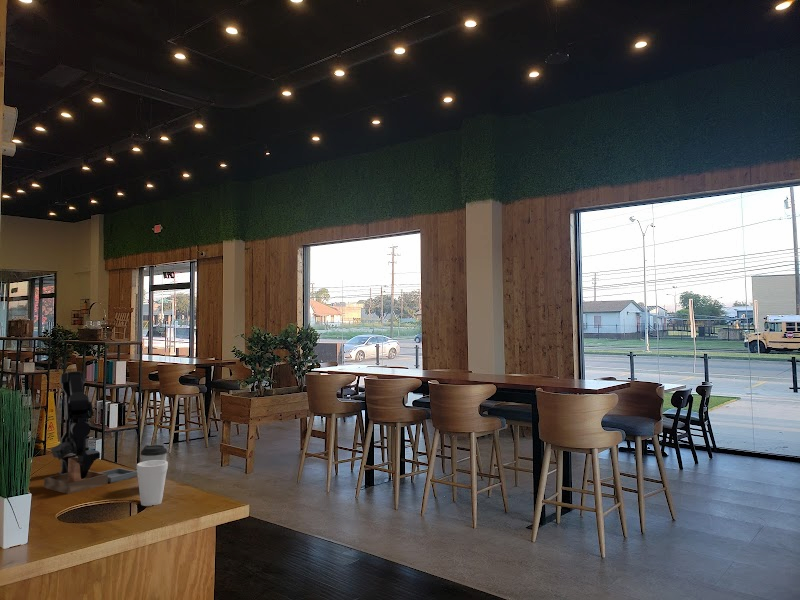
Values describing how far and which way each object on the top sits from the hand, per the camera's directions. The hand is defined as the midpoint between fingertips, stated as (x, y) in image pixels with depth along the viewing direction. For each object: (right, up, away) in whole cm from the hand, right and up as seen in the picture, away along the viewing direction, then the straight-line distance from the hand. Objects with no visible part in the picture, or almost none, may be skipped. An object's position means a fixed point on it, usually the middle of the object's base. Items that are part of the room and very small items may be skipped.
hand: (76, 477), depth 211 cm
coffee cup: (+28, -4, 0) cm, 28 cm away
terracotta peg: (0, -3, 0) cm, 3 cm away
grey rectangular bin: (+9, -4, +11) cm, 15 cm away
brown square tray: (0, -4, 0) cm, 4 cm away
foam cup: (+35, -3, -18) cm, 39 cm away
